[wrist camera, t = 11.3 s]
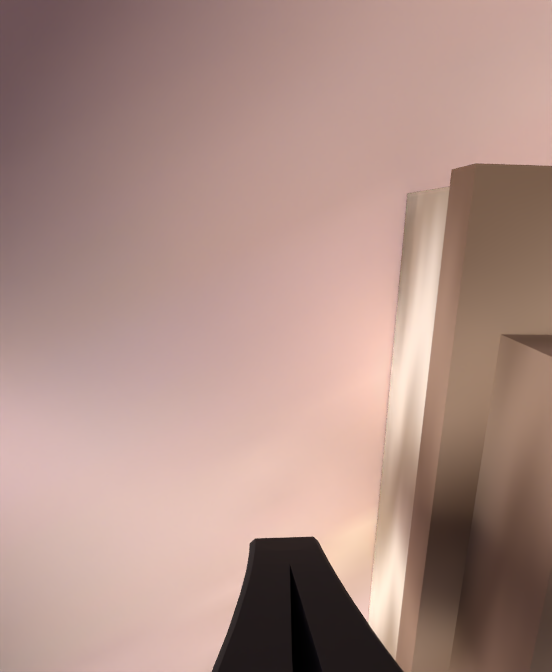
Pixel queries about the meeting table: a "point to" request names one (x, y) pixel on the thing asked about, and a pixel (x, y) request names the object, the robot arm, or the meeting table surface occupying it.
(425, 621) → the lid
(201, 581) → the meeting table surface
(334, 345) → the meeting table surface
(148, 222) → the meeting table surface
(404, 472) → the cream rectangular tray
